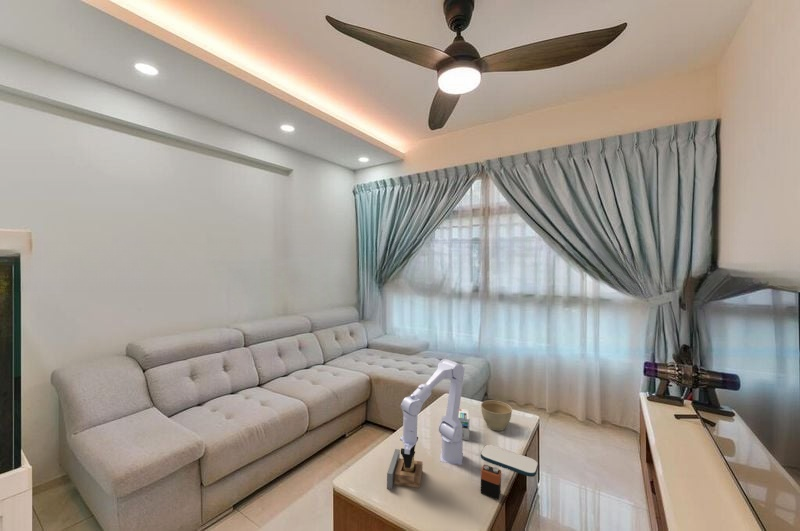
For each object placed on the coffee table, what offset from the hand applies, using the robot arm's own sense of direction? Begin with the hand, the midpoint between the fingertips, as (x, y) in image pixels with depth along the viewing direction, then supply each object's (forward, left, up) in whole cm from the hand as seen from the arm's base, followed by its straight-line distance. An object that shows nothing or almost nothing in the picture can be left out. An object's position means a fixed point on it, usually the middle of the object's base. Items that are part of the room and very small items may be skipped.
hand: (409, 461), depth 126 cm
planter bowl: (-40, -51, -7) cm, 65 cm away
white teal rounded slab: (-42, -21, -8) cm, 48 cm away
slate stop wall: (+6, 0, -7) cm, 9 cm away
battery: (-32, +1, -7) cm, 33 cm away
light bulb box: (-22, -39, -7) cm, 45 cm away
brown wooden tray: (0, 0, -7) cm, 7 cm away
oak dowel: (0, 0, -6) cm, 6 cm away
